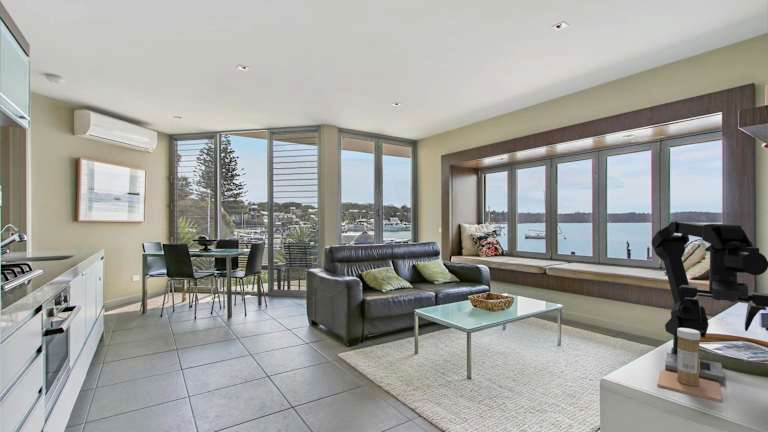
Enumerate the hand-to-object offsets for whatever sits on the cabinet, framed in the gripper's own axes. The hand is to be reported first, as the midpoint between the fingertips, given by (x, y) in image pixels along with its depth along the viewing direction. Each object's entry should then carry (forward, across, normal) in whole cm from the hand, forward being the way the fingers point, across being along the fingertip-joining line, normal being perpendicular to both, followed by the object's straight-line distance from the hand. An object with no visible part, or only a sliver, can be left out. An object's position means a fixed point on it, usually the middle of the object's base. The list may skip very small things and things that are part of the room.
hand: (722, 327), depth 101 cm
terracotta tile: (+13, -7, -15) cm, 21 cm away
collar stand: (+13, -6, -2) cm, 14 cm away
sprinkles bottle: (+13, -7, -15) cm, 21 cm away
